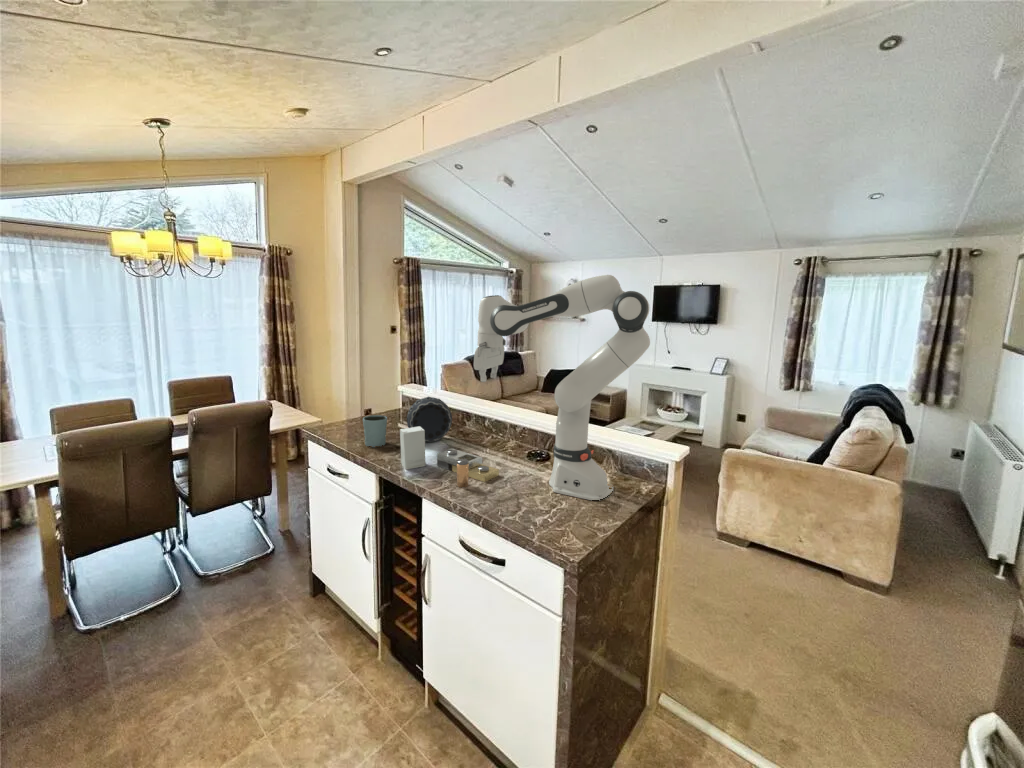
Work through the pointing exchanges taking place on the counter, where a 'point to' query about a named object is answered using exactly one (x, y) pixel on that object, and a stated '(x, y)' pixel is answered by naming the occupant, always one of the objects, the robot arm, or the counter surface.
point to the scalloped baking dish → (430, 417)
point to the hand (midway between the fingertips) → (488, 379)
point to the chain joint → (475, 464)
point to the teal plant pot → (375, 430)
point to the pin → (462, 472)
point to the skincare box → (412, 447)
